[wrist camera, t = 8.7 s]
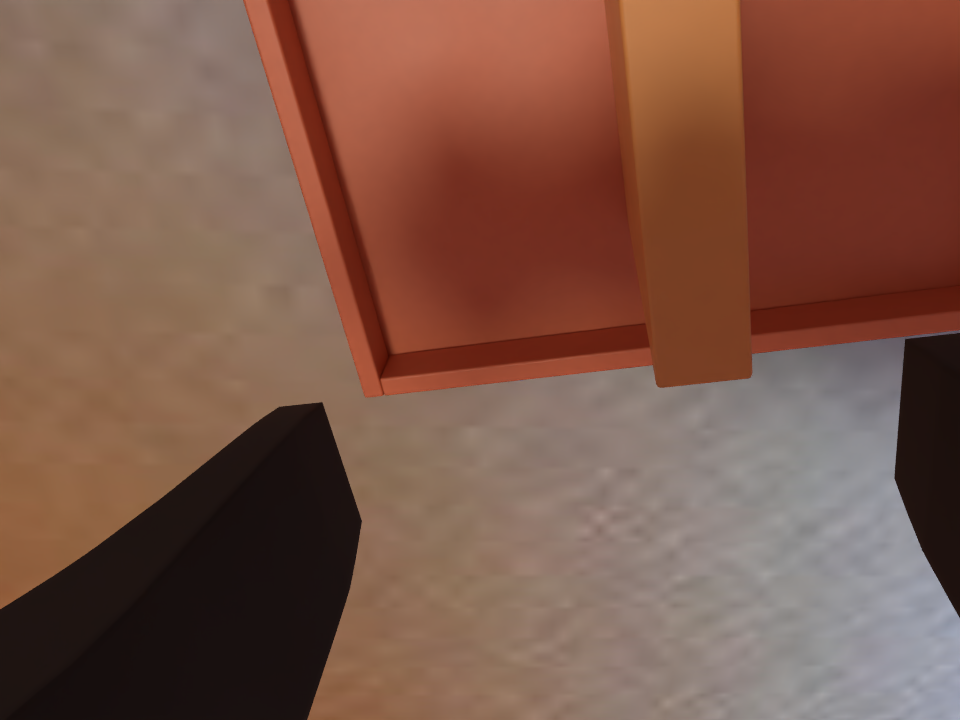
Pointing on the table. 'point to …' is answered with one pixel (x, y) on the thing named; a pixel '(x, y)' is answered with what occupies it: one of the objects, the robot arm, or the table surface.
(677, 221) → the toast
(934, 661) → the table surface
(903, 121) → the red tray
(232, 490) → the robot arm
